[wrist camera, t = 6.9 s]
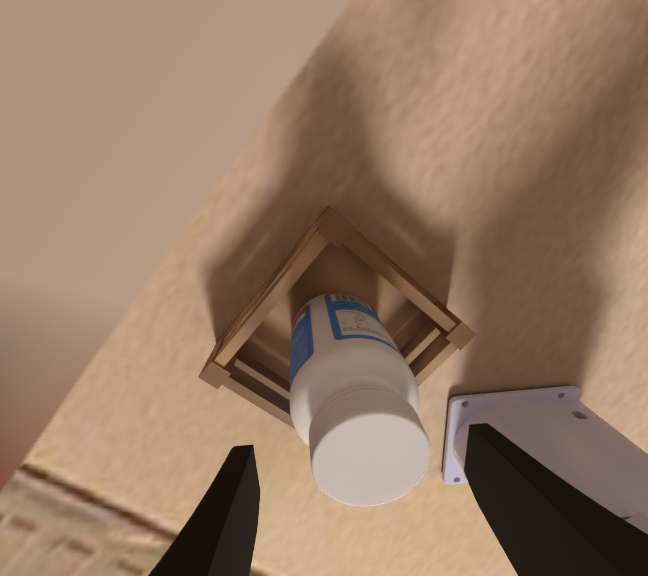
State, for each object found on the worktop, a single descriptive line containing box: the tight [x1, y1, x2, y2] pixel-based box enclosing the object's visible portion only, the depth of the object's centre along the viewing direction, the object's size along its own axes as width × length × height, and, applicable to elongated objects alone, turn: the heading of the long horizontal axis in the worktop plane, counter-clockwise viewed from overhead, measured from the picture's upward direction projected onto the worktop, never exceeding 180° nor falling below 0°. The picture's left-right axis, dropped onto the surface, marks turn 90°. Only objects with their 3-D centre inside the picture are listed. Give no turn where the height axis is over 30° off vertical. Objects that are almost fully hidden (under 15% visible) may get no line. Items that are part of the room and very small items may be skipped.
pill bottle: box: [290, 292, 431, 506], centre depth 15 cm, size 6×5×10 cm
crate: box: [198, 206, 477, 429], centre depth 18 cm, size 11×10×4 cm
